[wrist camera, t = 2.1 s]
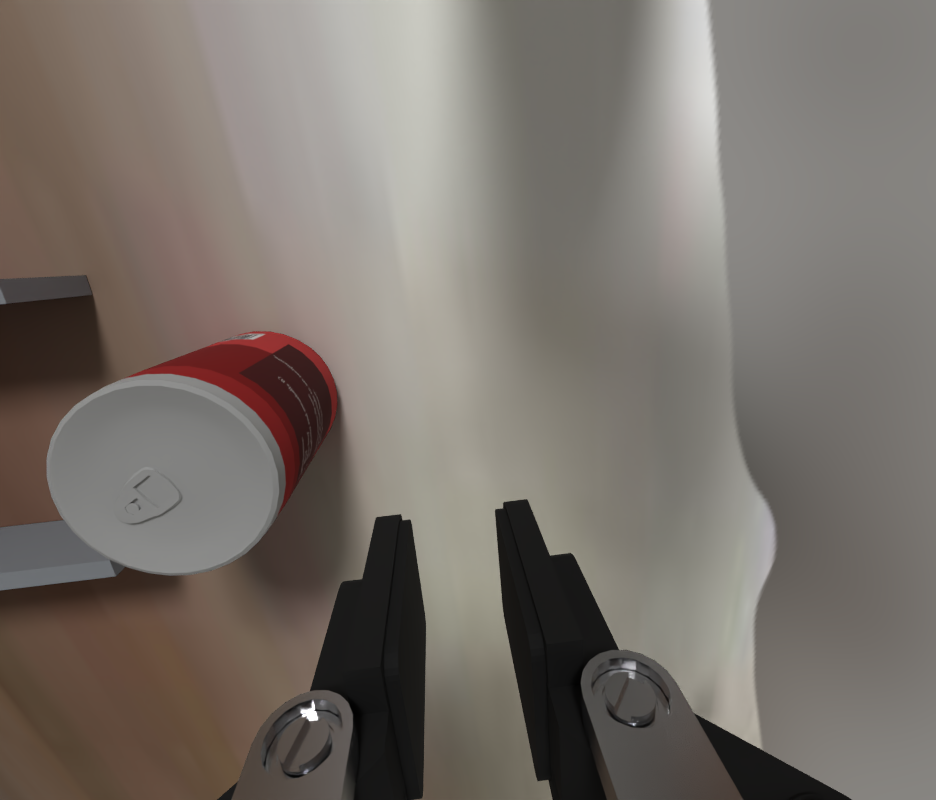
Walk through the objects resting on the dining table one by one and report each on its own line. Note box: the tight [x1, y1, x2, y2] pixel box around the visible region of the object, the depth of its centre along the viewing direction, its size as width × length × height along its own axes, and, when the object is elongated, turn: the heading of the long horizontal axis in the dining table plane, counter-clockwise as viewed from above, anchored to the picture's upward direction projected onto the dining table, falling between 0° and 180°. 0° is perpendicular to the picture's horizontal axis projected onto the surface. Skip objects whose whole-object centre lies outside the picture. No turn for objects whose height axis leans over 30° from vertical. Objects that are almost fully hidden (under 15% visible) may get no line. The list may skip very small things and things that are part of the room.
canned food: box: [47, 332, 337, 576], centre depth 21 cm, size 8×8×11 cm
